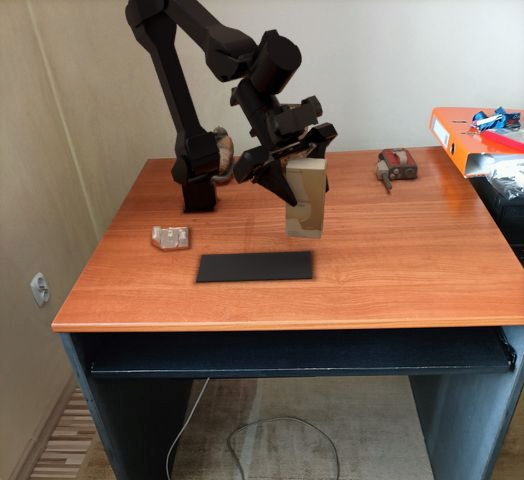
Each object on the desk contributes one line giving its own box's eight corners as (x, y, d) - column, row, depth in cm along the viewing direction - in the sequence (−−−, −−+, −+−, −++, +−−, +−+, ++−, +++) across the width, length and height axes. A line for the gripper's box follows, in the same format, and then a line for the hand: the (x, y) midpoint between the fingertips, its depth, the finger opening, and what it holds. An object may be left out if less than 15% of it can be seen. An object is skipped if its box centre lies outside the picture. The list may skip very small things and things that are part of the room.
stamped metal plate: (154, 232, 104) (153, 226, 103) (188, 229, 104) (187, 222, 103) (151, 252, 98) (150, 245, 97) (188, 248, 98) (187, 241, 97)
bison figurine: (232, 186, 119) (228, 141, 113) (202, 187, 120) (196, 143, 114) (237, 166, 128) (234, 124, 122) (209, 167, 129) (204, 125, 123)
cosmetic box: (284, 238, 88) (283, 167, 80) (288, 225, 91) (287, 156, 83) (322, 240, 86) (325, 168, 78) (325, 227, 90) (327, 157, 82)
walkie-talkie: (369, 160, 127) (384, 194, 111) (371, 142, 124) (386, 174, 108) (405, 158, 126) (425, 192, 111) (408, 140, 123) (428, 172, 108)
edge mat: (196, 282, 89) (195, 281, 89) (202, 256, 96) (202, 254, 96) (312, 279, 88) (312, 277, 88) (310, 252, 95) (310, 250, 94)
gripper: (237, 94, 71) (292, 193, 72) (332, 67, 80) (380, 156, 81) (211, 138, 81) (259, 226, 82) (297, 110, 90) (341, 190, 90)
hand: (311, 198), depth 83 cm, fingers closed on cosmetic box, 7 cm apart
